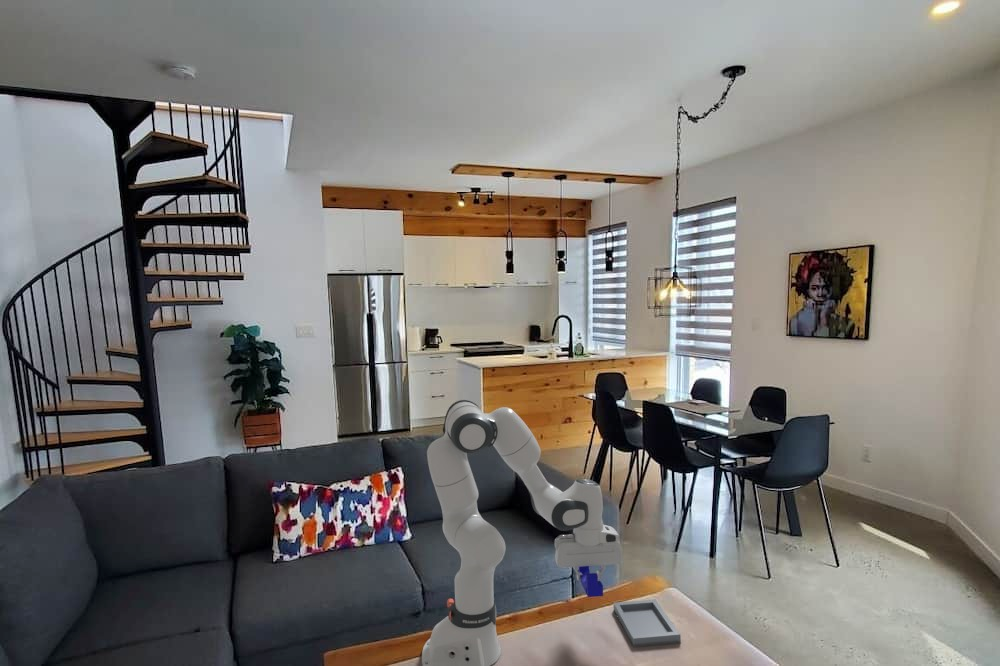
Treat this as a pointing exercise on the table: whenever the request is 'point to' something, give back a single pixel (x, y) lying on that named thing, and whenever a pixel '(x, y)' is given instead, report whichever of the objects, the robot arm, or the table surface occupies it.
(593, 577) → the blue angular stepped piece
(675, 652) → the table surface
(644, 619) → the tray
